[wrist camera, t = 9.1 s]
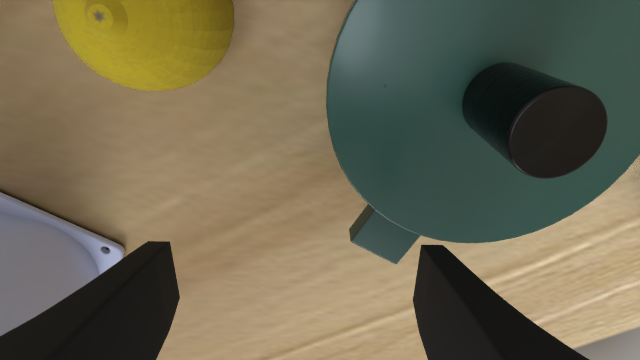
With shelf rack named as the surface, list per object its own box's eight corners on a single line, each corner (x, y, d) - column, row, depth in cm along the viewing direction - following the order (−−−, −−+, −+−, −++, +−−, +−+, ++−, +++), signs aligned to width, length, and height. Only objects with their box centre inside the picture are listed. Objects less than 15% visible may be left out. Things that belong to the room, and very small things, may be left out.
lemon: (263, -34, 17) (221, -55, 10) (232, 85, 19) (180, 140, 12) (135, -85, 16) (-11, -147, 9) (119, 46, 19) (-10, 80, 11)
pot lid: (273, 155, 15) (254, 219, 11) (448, -190, 10) (532, -312, 6) (508, 266, 17) (570, 355, 13) (732, 18, 13) (934, 31, 8)
